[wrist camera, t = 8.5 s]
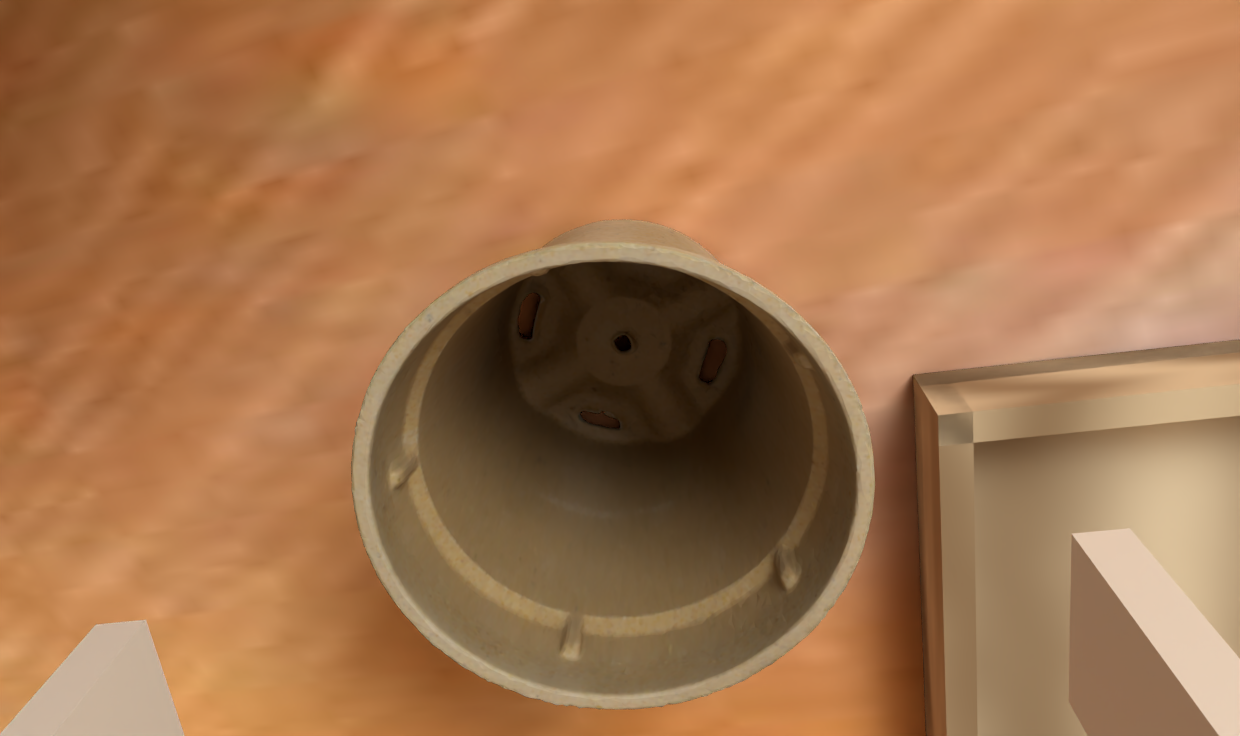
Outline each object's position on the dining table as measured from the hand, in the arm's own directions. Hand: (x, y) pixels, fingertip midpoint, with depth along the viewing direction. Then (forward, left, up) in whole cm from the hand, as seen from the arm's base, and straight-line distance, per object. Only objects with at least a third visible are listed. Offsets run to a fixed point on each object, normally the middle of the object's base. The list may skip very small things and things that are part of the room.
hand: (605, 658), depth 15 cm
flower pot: (0, 0, -13) cm, 13 cm away
